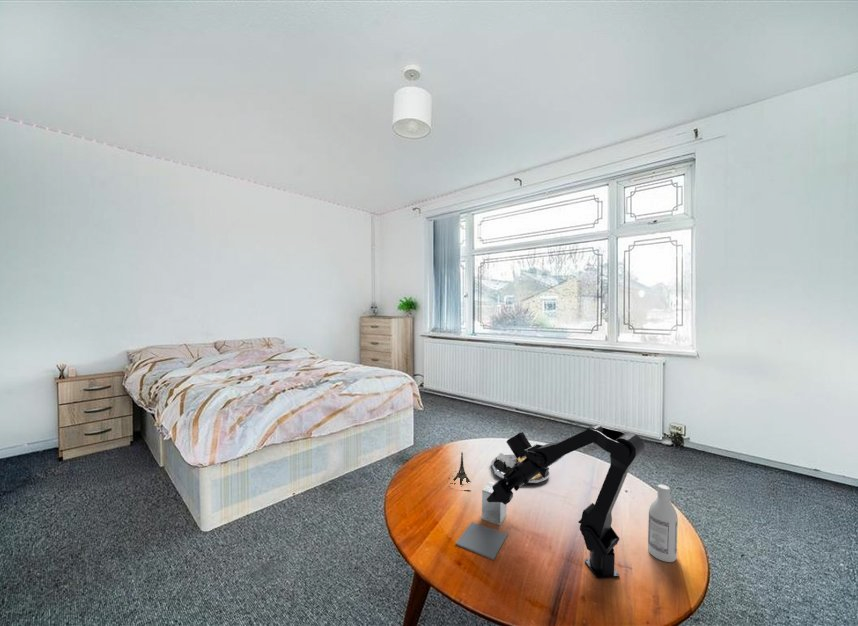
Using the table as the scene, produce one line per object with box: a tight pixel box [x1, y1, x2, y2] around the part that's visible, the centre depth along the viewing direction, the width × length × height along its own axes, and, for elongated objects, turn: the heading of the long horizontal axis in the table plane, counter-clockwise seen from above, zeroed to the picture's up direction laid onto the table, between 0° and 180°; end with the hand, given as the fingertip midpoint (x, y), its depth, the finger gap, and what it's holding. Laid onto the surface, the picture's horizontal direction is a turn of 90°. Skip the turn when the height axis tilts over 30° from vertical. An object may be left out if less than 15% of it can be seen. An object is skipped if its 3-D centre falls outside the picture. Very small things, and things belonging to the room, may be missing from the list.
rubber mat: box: [455, 521, 508, 561], centre depth 106 cm, size 12×12×1 cm
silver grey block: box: [481, 481, 508, 526], centre depth 118 cm, size 6×6×10 cm
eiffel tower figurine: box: [450, 452, 472, 486], centre depth 142 cm, size 15×10×13 cm
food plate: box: [490, 454, 550, 484], centre depth 151 cm, size 25×23×4 cm
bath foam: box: [647, 483, 679, 563], centre depth 101 cm, size 7×7×20 cm
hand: (492, 494), depth 118 cm, fingers open, 9 cm apart
